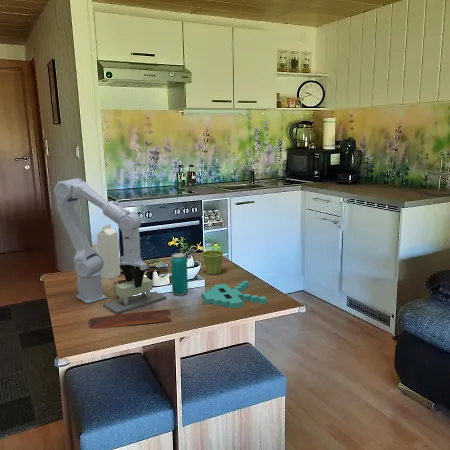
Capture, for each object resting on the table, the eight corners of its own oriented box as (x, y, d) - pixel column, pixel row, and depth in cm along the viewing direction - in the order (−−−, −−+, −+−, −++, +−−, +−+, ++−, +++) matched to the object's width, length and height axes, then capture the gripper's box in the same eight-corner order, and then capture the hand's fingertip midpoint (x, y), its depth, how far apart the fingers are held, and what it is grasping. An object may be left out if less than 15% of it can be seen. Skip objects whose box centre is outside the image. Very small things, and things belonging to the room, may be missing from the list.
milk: (100, 278, 189) (95, 226, 185) (108, 273, 195) (104, 223, 190) (112, 279, 187) (108, 227, 182) (120, 274, 193) (116, 224, 188)
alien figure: (246, 286, 178) (197, 292, 172) (246, 280, 177) (197, 287, 171) (267, 304, 159) (212, 312, 153) (266, 298, 159) (212, 306, 153)
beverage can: (183, 289, 174) (182, 252, 171) (190, 294, 169) (189, 255, 166) (169, 292, 171) (168, 254, 168) (176, 297, 166) (175, 258, 163)
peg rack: (102, 306, 159) (102, 295, 158) (151, 292, 172) (150, 282, 171) (117, 314, 152) (116, 303, 151) (166, 299, 165) (165, 288, 164)
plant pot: (208, 277, 187) (208, 257, 185) (198, 271, 195) (198, 252, 194) (228, 273, 192) (227, 254, 190) (217, 268, 200) (217, 249, 198)
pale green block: (144, 286, 167) (144, 277, 166) (152, 289, 163) (152, 280, 162) (115, 294, 159) (115, 285, 158) (123, 298, 155) (122, 288, 154)
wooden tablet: (170, 311, 155) (170, 307, 155) (172, 324, 145) (172, 319, 145) (89, 318, 150) (89, 314, 150) (86, 331, 141) (85, 326, 140)
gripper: (110, 246, 160) (113, 283, 163) (132, 254, 150) (135, 293, 152) (128, 242, 165) (130, 278, 168) (150, 250, 154) (153, 287, 157)
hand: (134, 285), depth 160 cm, fingers closed on pale green block, 5 cm apart
